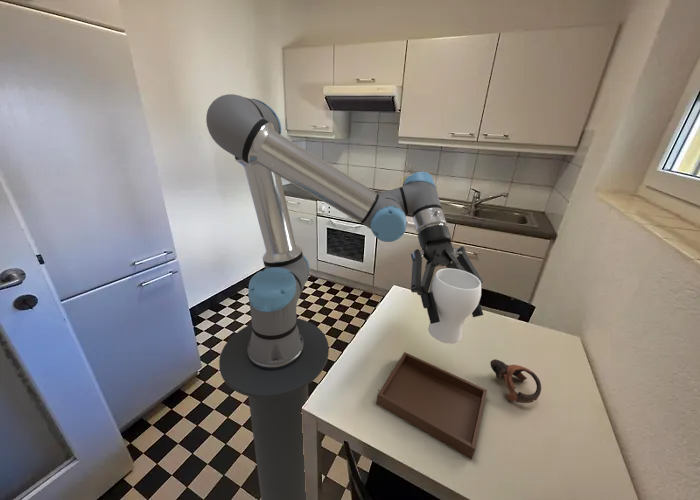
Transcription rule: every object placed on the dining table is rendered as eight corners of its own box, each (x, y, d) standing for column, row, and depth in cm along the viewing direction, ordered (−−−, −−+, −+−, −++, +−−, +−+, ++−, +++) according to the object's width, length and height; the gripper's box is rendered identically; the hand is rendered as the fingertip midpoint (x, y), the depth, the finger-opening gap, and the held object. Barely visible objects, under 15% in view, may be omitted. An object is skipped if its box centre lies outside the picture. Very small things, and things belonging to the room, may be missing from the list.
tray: (376, 403, 66) (377, 394, 65) (403, 360, 79) (404, 351, 78) (471, 459, 56) (475, 449, 55) (484, 398, 69) (487, 389, 68)
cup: (469, 327, 69) (485, 274, 63) (465, 355, 60) (482, 296, 54) (427, 314, 73) (438, 263, 67) (417, 337, 65) (428, 281, 59)
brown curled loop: (535, 385, 74) (551, 378, 67) (520, 416, 70) (536, 412, 64) (491, 355, 79) (502, 346, 73) (475, 382, 75) (486, 375, 69)
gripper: (395, 224, 63) (419, 324, 55) (480, 221, 69) (511, 310, 62) (384, 238, 69) (403, 328, 62) (461, 234, 76) (487, 315, 69)
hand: (457, 319), depth 62 cm, fingers closed on cup, 11 cm apart
